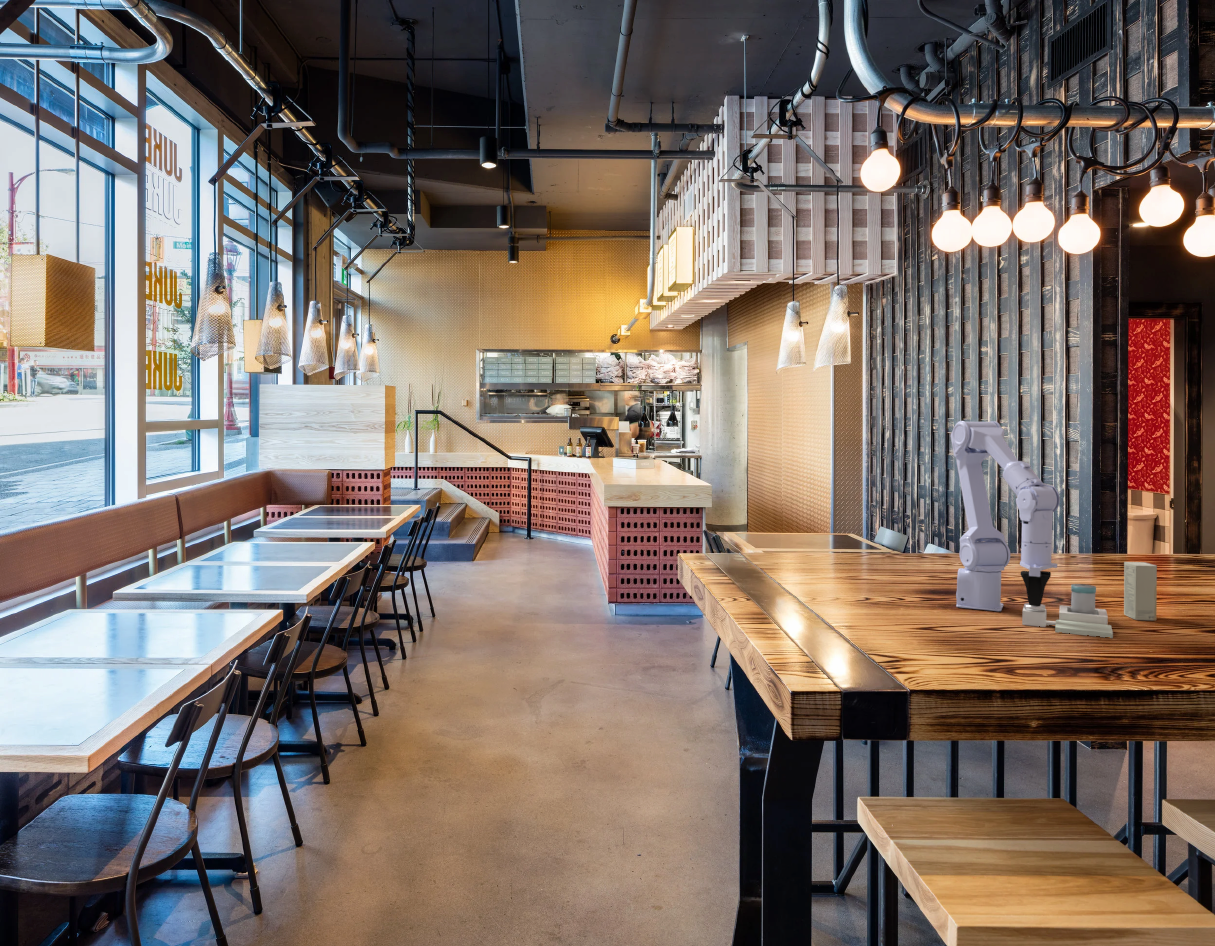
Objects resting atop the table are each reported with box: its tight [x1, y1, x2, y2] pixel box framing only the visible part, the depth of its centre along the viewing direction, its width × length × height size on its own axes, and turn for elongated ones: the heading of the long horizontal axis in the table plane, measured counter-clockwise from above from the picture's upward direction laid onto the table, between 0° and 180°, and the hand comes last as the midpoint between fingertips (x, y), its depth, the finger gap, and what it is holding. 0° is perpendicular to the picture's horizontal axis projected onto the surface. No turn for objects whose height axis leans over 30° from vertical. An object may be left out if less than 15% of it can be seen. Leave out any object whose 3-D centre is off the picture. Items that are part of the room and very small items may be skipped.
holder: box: [1021, 604, 1109, 628], centre depth 172 cm, size 16×14×3 cm
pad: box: [1054, 619, 1114, 639], centre depth 165 cm, size 10×8×1 cm
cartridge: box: [1070, 583, 1097, 615], centre depth 172 cm, size 5×5×8 cm
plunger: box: [1023, 602, 1046, 612], centre depth 171 cm, size 4×4×4 cm
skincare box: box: [1123, 561, 1158, 622], centre depth 177 cm, size 6×4×12 cm
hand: (1034, 605), depth 171 cm, fingers closed, pressing on plunger
